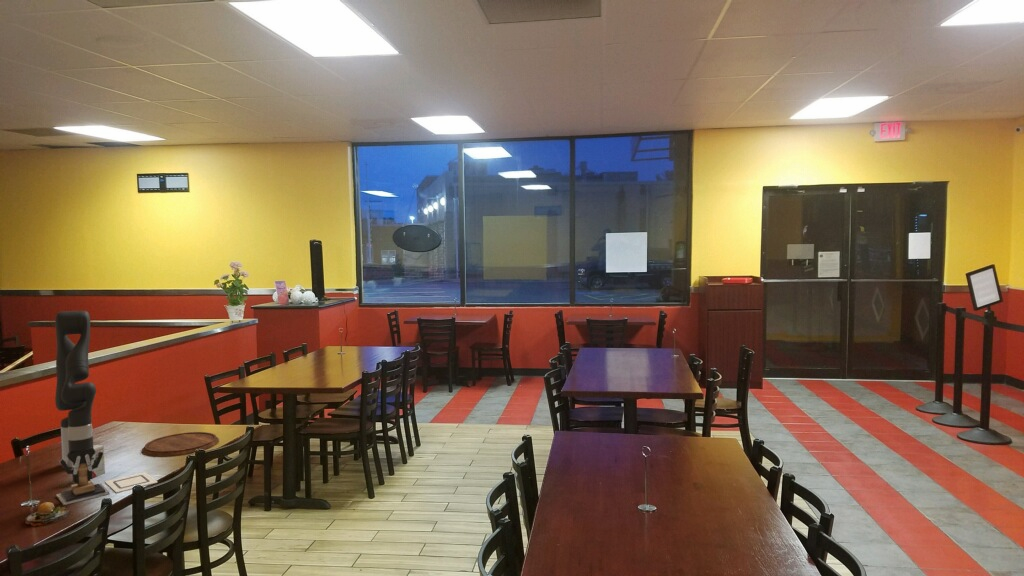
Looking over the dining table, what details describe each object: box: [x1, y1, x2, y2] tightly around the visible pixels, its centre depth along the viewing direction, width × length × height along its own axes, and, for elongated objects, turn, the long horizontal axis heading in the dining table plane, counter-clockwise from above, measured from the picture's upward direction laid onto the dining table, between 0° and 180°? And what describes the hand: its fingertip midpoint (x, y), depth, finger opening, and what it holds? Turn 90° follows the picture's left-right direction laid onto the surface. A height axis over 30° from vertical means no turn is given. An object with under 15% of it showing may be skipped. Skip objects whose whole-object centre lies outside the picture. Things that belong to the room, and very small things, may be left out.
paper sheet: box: [104, 471, 159, 494], centre depth 235 cm, size 16×14×1 cm
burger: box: [24, 501, 70, 527], centre depth 203 cm, size 12×12×8 cm
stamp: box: [70, 463, 95, 496], centre depth 222 cm, size 6×6×11 cm
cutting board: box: [141, 431, 220, 458], centre depth 281 cm, size 32×32×2 cm
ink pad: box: [56, 483, 110, 506], centre depth 222 cm, size 12×14×1 cm
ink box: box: [90, 444, 106, 479], centre depth 242 cm, size 9×5×12 cm, turn 168°
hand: (82, 481), depth 222 cm, fingers closed on stamp, 3 cm apart
